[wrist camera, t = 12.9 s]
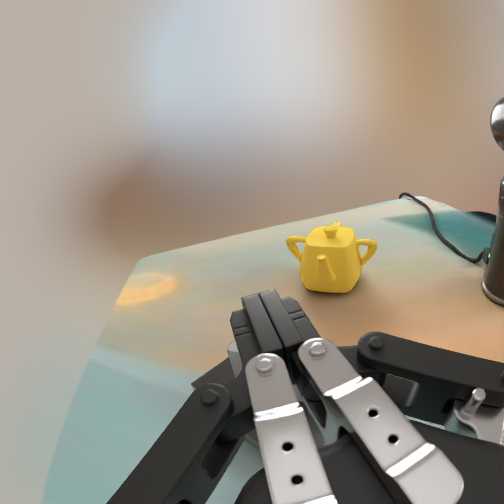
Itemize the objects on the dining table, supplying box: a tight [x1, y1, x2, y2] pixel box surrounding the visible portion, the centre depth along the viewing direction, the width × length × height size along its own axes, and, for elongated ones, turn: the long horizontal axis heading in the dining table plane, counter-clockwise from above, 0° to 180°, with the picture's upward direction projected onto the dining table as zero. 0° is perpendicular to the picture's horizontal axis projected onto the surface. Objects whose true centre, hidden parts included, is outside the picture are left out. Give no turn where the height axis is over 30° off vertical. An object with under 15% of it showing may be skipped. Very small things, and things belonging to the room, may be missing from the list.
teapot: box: [286, 222, 377, 293], centre depth 48 cm, size 14×13×10 cm
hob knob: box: [227, 340, 303, 402], centre depth 28 cm, size 8×2×6 cm, turn 64°
